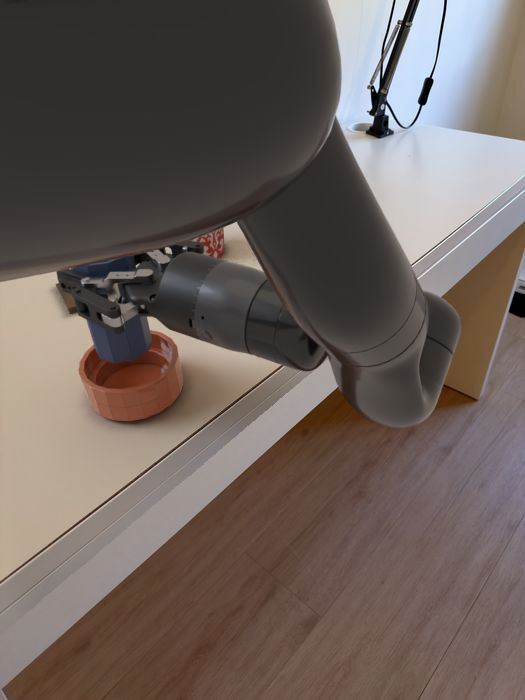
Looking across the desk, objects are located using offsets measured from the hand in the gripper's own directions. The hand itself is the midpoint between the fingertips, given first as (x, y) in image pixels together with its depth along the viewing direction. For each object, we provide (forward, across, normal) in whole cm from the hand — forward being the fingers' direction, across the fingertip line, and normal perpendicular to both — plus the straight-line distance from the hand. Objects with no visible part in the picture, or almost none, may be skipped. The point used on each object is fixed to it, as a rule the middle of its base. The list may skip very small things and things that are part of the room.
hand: (86, 262), depth 54 cm
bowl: (-3, 0, +17) cm, 17 cm away
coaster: (+19, -13, +17) cm, 28 cm away
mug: (+12, -32, +17) cm, 38 cm away
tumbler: (-2, 0, +10) cm, 10 cm away
